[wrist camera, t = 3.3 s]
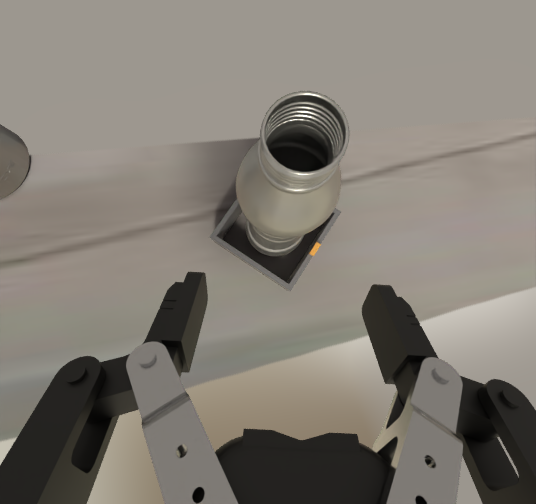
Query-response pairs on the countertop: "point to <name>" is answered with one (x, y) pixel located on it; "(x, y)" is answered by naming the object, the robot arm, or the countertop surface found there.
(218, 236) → the socket collar
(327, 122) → the silver metal bottle
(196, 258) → the countertop surface
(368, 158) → the countertop surface
